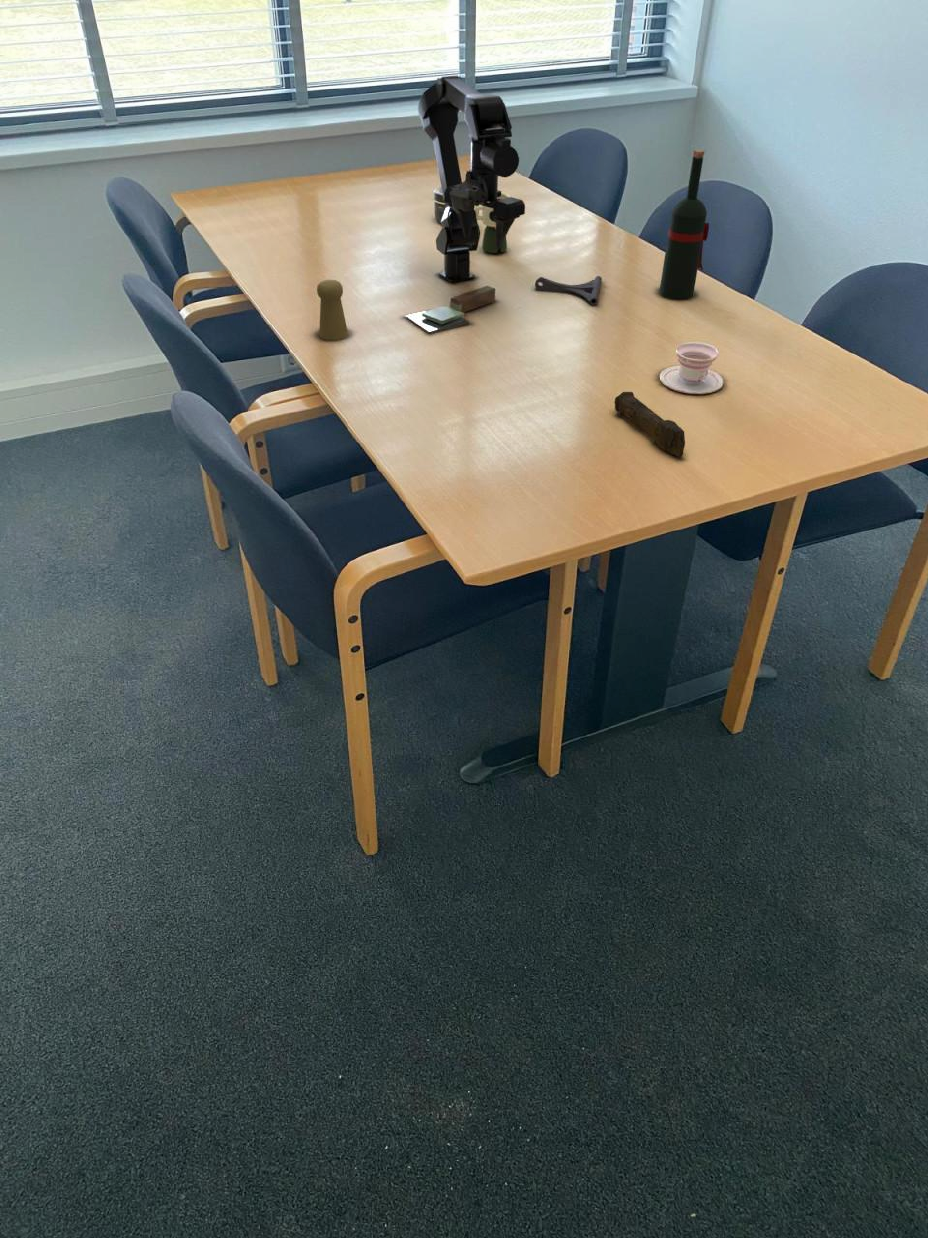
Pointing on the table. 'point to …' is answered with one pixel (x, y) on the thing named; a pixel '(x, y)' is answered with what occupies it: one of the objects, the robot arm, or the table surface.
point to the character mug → (490, 227)
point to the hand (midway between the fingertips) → (482, 242)
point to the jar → (439, 204)
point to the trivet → (434, 323)
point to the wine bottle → (685, 240)
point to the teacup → (693, 370)
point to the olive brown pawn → (331, 311)
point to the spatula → (461, 305)
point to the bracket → (573, 288)
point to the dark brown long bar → (652, 423)
